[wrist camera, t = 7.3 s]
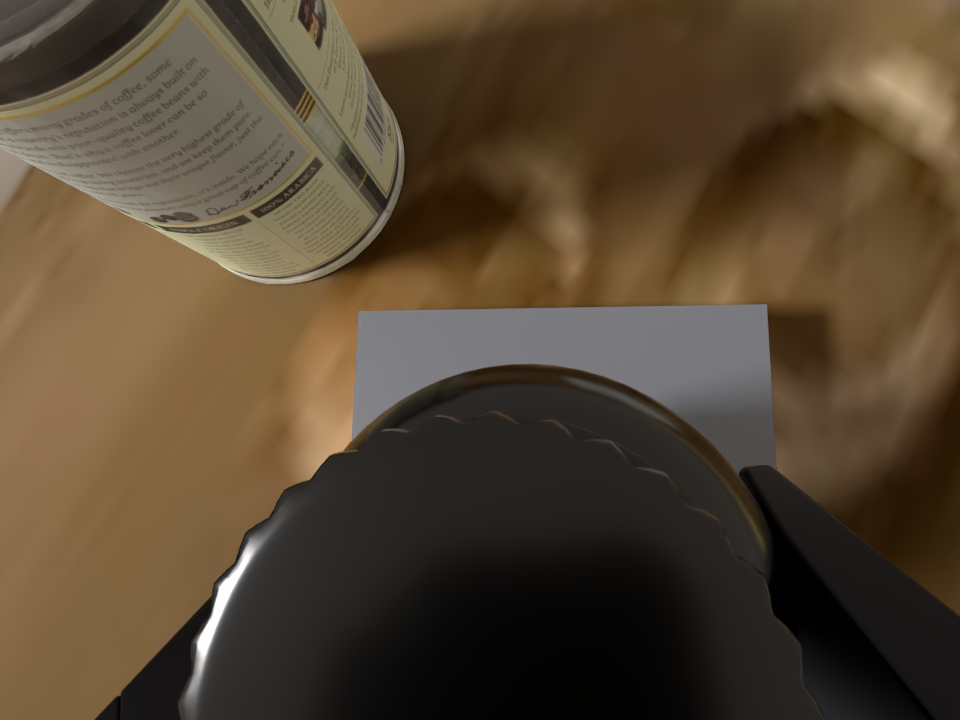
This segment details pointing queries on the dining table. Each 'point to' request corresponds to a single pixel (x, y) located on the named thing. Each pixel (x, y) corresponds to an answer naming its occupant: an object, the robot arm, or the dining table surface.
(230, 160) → the coffee can
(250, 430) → the dining table surface
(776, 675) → the supplement bottle
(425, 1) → the dining table surface
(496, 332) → the book
